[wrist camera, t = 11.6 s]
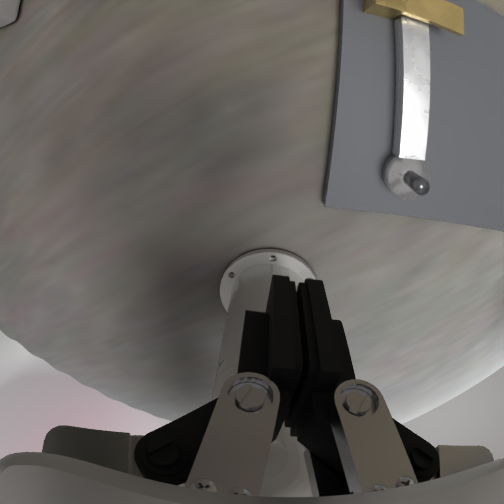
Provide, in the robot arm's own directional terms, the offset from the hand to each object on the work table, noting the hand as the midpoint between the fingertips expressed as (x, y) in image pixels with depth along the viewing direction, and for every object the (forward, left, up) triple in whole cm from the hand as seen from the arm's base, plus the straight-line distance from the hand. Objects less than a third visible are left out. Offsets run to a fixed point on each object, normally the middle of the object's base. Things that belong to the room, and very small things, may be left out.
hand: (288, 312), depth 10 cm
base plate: (+10, -21, -24) cm, 33 cm away
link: (+10, -13, -22) cm, 27 cm away
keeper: (+19, -12, -22) cm, 31 cm away
